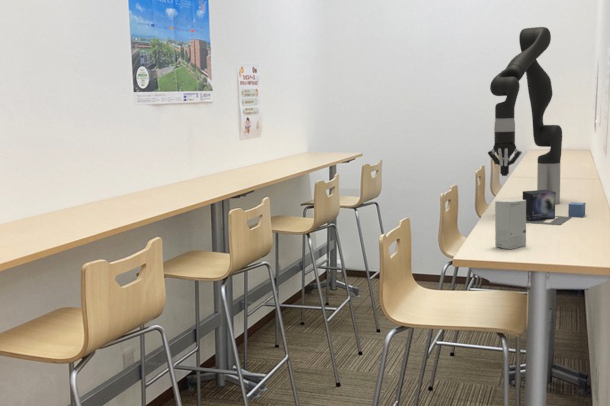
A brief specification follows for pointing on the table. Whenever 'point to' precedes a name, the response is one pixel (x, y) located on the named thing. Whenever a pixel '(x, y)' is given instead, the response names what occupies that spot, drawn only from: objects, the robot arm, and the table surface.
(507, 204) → the skincare box
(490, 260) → the table surface
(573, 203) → the blue cube
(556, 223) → the letter board
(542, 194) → the small box
